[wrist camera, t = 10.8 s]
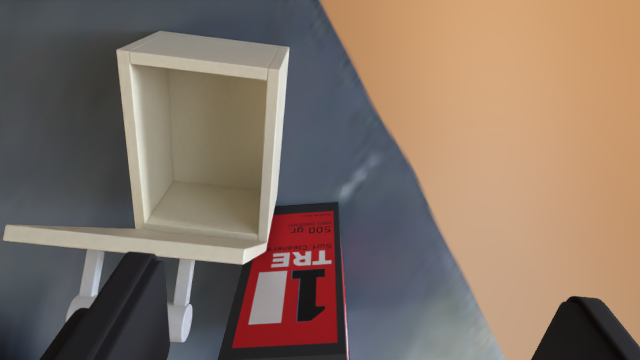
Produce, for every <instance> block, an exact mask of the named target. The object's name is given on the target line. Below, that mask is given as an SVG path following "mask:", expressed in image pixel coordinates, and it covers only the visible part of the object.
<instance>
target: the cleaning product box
mask: <svg viewBox="0 0 640 360" xmlns="http://www.w3.org/2000/svg"><path fill="white" fill-rule="evenodd" d="M218 360H350V355H349V339H348V322H347V307H346V295H345V282H344V269H343V257H342V244H341V232H340V219H339V207H338V202H334V203H320V204H306V205H291V206H277V207H275V208H274V213H273V218H272V223H271V228H270V232H269V237H268V242H267V248H266V251H265V252H264V253H262V254H260V255H259V256H257V257H255V258H253V259H252V260H250V261H248V262H247V263H245V264H243V267H242V271H241V275H240V279H239V282H238V286H237V290H236V293H235V297H234V301H233V305H232V308H231V312H230V316H229V320H228V323H227V327H226V331H225V334H224V338H223V342H222V346H221V349H220V353H219V357H218Z"/></svg>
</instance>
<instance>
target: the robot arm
mask: <svg viewBox="0 0 640 360" xmlns="http://www.w3.org/2000/svg"><path fill="white" fill-rule="evenodd" d="M169 348H170V335H169V321H168V307H167V293H166V279H165V265H164V262H163V261H157V257H156V255H155V254H153V253H143V252H133V251H129V252H127V253H126V254H125V255H124V257H123V258H122V260H121V261H120V263H119V264H118V266H117V267H116V269H115V270H114V272H113V273H112V275H111V276H110V278H109V279H108V281H107V282H106V284H105V285H104V287H103V288H102V290H101V291H100V293H99V294H98V296H97V297H96V298H95V300H94V301H93V303H92V304H91V306H90V307H89V308H79V309H78V310H76V311H75V312H74V313H73V314H72V315H71V316H70V318H69V319H68V321H67V322H66V323H65V325H64V326H63V328H62V329H61V330H60V332H59V333H58V335H57V336H56V337H55V339H54V340H53V342H52V343H51V344H50V346H49V347H48V349H47V350H46V351H45V353H44V354H43V356H42V357H41V359H40V360H167V357H168V353H169ZM531 360H640V347H639V345H638V344H637V343H636V342H635V340H634V339H633V338H632V337H631V336H630V334H629V333H628V332H627V331H626V329H625V328H624V327H623V326H622V324H621V323H620V322H619V321H618V319H617V318H616V317H615V316H614V315H613V313H612V312H611V311H610V310H609V308H608V307H607V306H606V305H605V304H604V303H603V302H602V301H601V300H599V299H597V298H587V297H577V296H572V297H570V298H569V299H568V300H567V301H566V302H563V303H561V305H560V306H559V308H558V310H557V312H556V314H555V316H554V318H553V319H552V321H551V323H550V325H549V327H548V329H547V331H546V333H545V334H544V336H543V338H542V340H541V342H540V344H539V346H538V348H537V350H536V351H535V354H534V355H533V357H532V359H531Z"/></svg>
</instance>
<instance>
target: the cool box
mask: <svg viewBox="0 0 640 360" xmlns="http://www.w3.org/2000/svg"><path fill="white" fill-rule="evenodd" d="M116 51H117V61H118V70H119V79H120V88H121V98H122V107H123V116H124V126H125V135H126V144H127V154H128V163H129V172H130V182H131V191H132V200H133V210H134V219H135V228H136V229H141V230H150V231H160V232H170V233H179V234H189V235H199V236H208V237H218V238H228V239H237V240H247V241H257V242H266V243H267V242H268V237H269V232H270V228H271V223H272V218H273V213H274V208H275V203H276V198H277V191H278V179H279V167H280V155H281V143H282V130H283V118H284V106H285V94H286V82H287V70H288V58H289V47H285V46H277V45H269V44H261V43H253V42H245V41H237V40H229V39H221V38H213V37H205V36H197V35H189V34H181V33H173V32H165V31H158V32H156V33H154V34H152V35H149V36H147V37H145V38H142V39H140V40H138V41H136V42H133V43H131V44H129V45H127V46H124V47H122V48H120V49H118V50H116Z"/></svg>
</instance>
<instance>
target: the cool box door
mask: <svg viewBox="0 0 640 360" xmlns="http://www.w3.org/2000/svg"><path fill="white" fill-rule="evenodd" d="M3 240H4V241H12V242H22V243H32V244H42V245H51V246H61V247H71V248H81V249H87V253H86V259H85V264H84V270H83V276H82V281H81V287H80V293H79V295H77V296H76V297H75V298H74V299H73V300H72V302H71V304H70V306H69V308H68V311H67V315H66V322H67V321H68V319H69V318H70V316H71V315H72V314H73V313H74V312H75V311H76V310H78V309H79V308H89V307H90V306H91V304H92V303H93V301H94V300H95V298H96V297H97V296H98V295H97V294H98V288H99V282H100V276H101V270H102V264H103V259H104V253H105V251H111V252H121V253H127V252H129V251H133V252H143V253H153V254H155V255H156V256H161V257H171V258H180V261H179V267H178V274H177V281H176V288H175V295H174V302H167V307H168V321H169V335H170V341H171V342H185V340H186V339H187V336H188V334H189V331H190V327H191V321H192V305H191V304H189V299H190V292H191V285H192V278H193V271H194V264H195V260H201V261H210V262H220V263H230V264H240V265H243V264H245V263H247V262H248V261H250V260H252V259H253V258H255V257H257V256H259V255H260V254H262V253H264V252H265V251H266V248H267V243H266V242H257V241H247V240H237V239H228V238H218V237H208V236H199V235H189V234H179V233H170V232H160V231H150V230H141V229H123V228H95V227H66V226H37V225H6V228H5V232H4V237H3Z"/></svg>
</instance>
